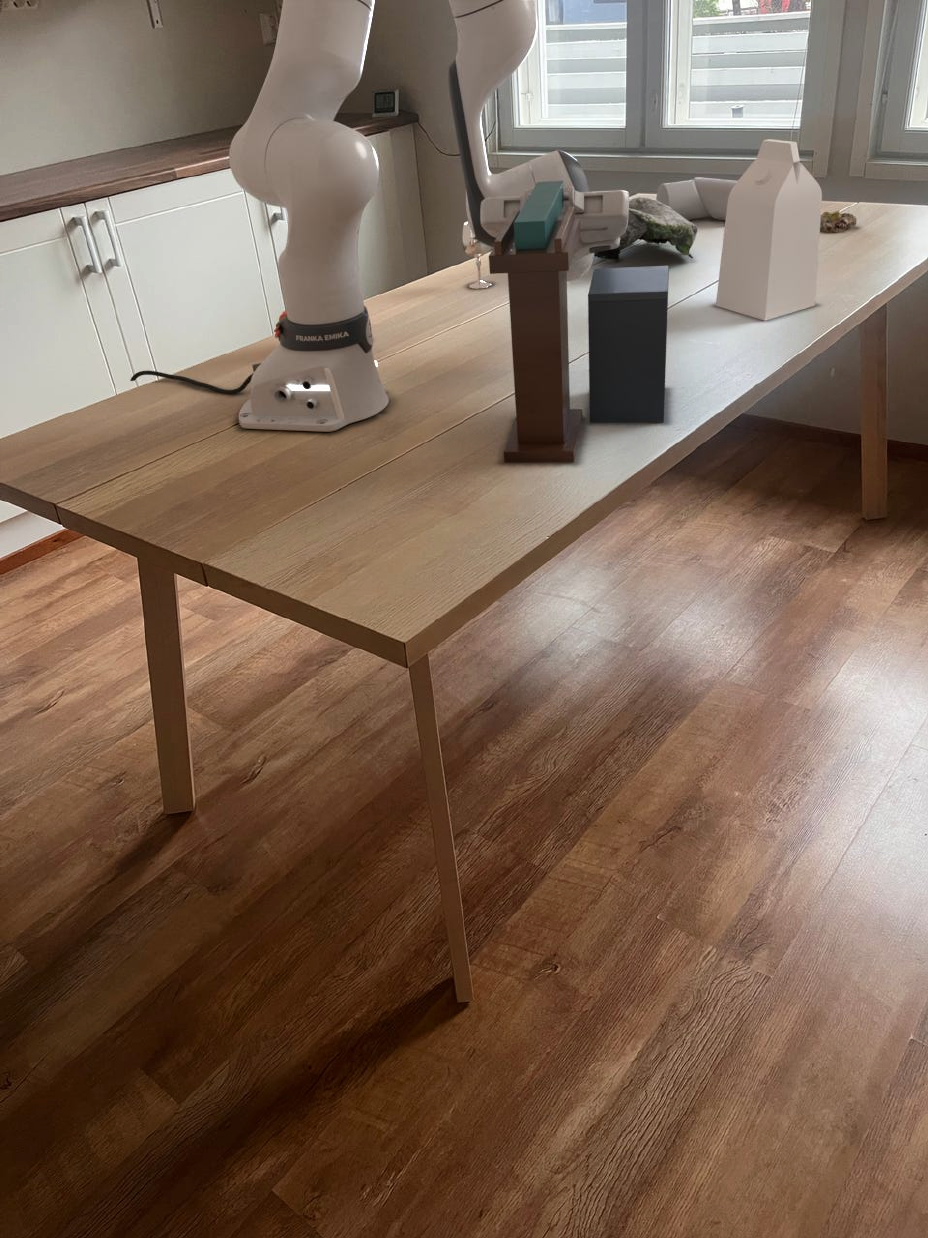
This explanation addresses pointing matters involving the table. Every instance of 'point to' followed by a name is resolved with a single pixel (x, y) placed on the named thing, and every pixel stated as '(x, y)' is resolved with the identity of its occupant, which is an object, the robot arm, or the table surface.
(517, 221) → the teal block
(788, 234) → the milk
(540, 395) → the walnut stand
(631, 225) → the mossy grey boulder
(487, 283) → the wineglass
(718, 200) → the bent grey cylinder
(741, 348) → the table surface
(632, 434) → the table surface
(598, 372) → the slate crate
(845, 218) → the mineral rock
